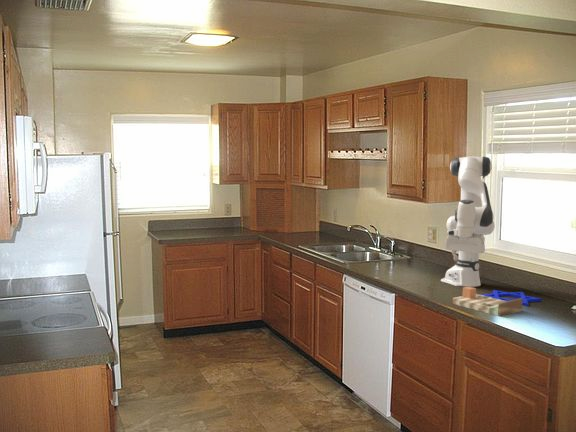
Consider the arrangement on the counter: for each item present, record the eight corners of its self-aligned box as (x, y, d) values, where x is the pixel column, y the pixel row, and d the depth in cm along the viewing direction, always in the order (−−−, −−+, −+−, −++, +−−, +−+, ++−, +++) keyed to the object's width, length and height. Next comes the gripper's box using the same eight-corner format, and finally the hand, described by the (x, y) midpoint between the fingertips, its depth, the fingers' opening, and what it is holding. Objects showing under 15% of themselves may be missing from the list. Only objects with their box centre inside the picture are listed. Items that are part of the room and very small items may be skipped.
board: (452, 303, 306) (453, 291, 305) (474, 299, 316) (475, 287, 315) (499, 316, 284) (500, 303, 283) (521, 311, 294) (522, 298, 293)
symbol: (471, 296, 316) (499, 287, 337) (471, 300, 316) (499, 290, 337) (521, 306, 298) (547, 296, 319) (521, 309, 298) (547, 299, 319)
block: (462, 296, 308) (462, 287, 308) (468, 295, 311) (468, 286, 310) (469, 298, 305) (470, 289, 304) (475, 297, 307) (476, 288, 307)
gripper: (488, 234, 301) (486, 262, 302) (451, 231, 316) (449, 258, 317) (481, 234, 297) (480, 263, 298) (444, 231, 312) (442, 258, 313)
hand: (464, 260), depth 307 cm, fingers open, 8 cm apart
